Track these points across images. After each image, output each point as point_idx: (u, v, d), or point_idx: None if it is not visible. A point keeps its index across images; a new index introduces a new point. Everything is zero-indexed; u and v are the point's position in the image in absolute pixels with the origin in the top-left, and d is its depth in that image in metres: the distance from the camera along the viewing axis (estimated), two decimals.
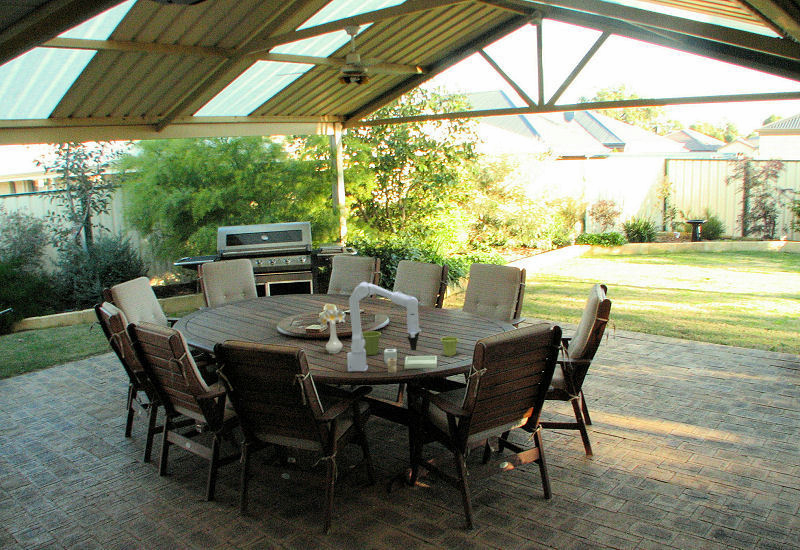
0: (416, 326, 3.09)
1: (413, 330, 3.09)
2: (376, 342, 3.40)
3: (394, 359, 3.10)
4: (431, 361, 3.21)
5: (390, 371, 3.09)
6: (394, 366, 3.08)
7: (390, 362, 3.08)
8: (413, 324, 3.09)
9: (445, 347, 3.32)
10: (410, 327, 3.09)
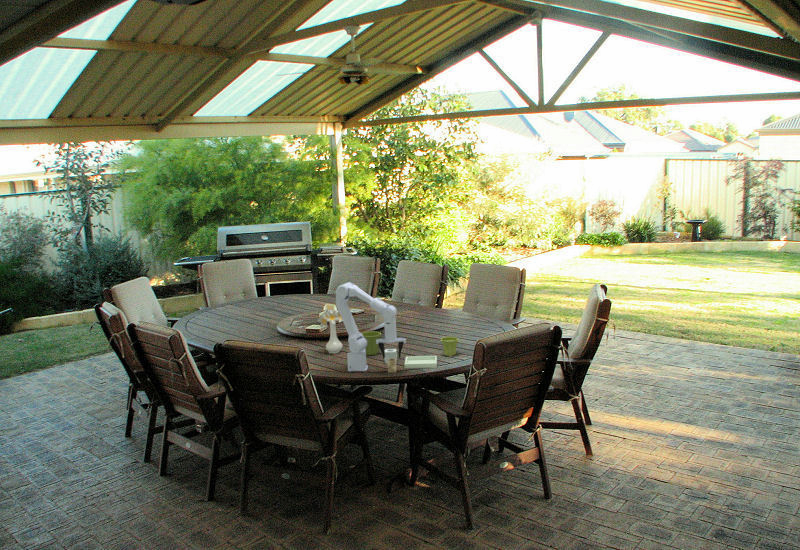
0: (386, 335, 3.06)
1: (385, 338, 3.08)
2: None
3: (394, 359, 3.10)
4: (431, 361, 3.21)
5: (390, 371, 3.09)
6: (394, 366, 3.08)
7: (390, 362, 3.08)
8: None
9: (445, 347, 3.32)
10: None
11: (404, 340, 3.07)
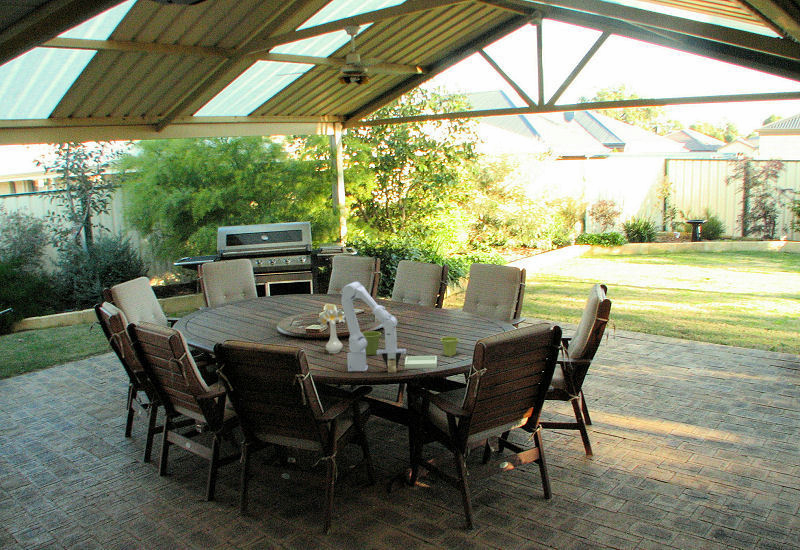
0: (386, 346, 3.07)
1: (385, 349, 3.09)
2: (376, 342, 3.40)
3: (394, 359, 3.10)
4: (431, 361, 3.21)
5: (390, 371, 3.09)
6: (394, 366, 3.08)
7: (390, 362, 3.08)
8: (385, 343, 3.08)
9: (445, 347, 3.32)
10: None
11: (404, 351, 3.08)
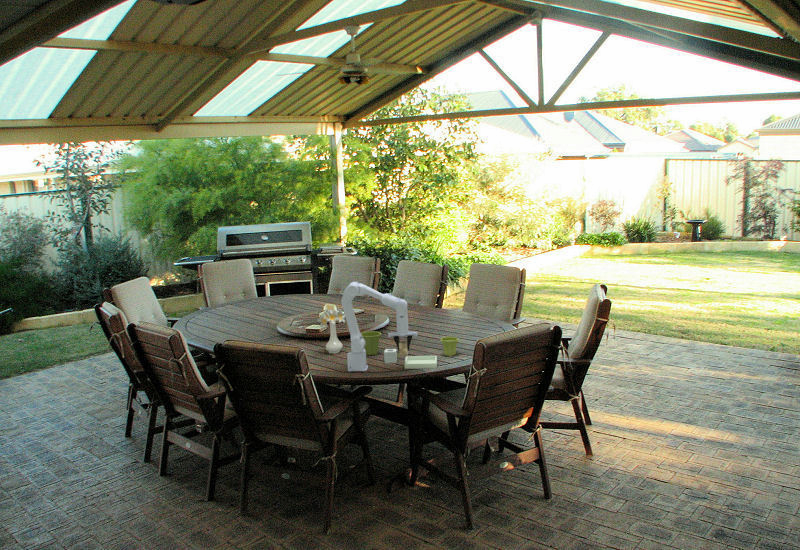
0: (397, 329, 3.10)
1: (397, 331, 3.12)
2: (376, 342, 3.40)
3: (405, 342, 3.13)
4: (431, 361, 3.21)
5: (401, 353, 3.12)
6: (405, 348, 3.11)
7: (401, 345, 3.11)
8: None
9: (445, 347, 3.32)
10: None
11: (416, 333, 3.11)
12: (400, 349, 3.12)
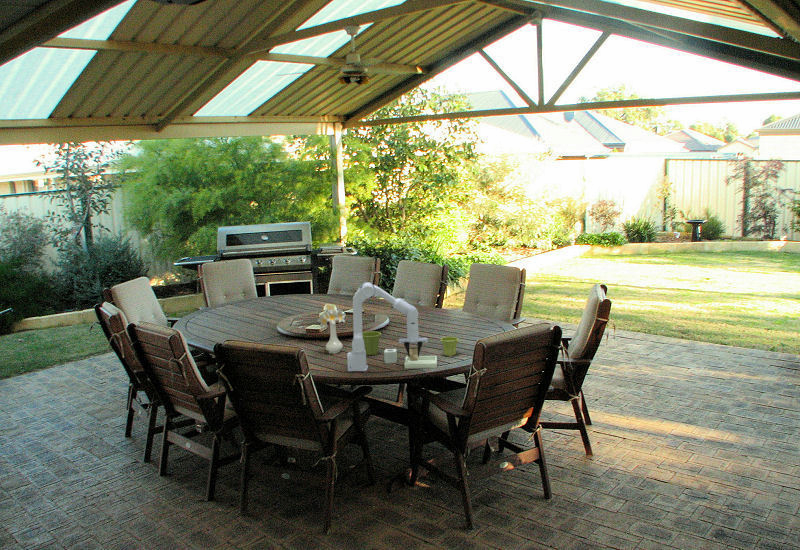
0: (408, 335, 3.15)
1: (407, 338, 3.17)
2: (376, 342, 3.40)
3: (416, 348, 3.17)
4: (431, 361, 3.21)
5: (412, 359, 3.16)
6: (416, 354, 3.16)
7: (412, 351, 3.16)
8: (407, 332, 3.16)
9: (445, 347, 3.32)
10: None
11: (426, 340, 3.15)
12: (410, 355, 3.16)
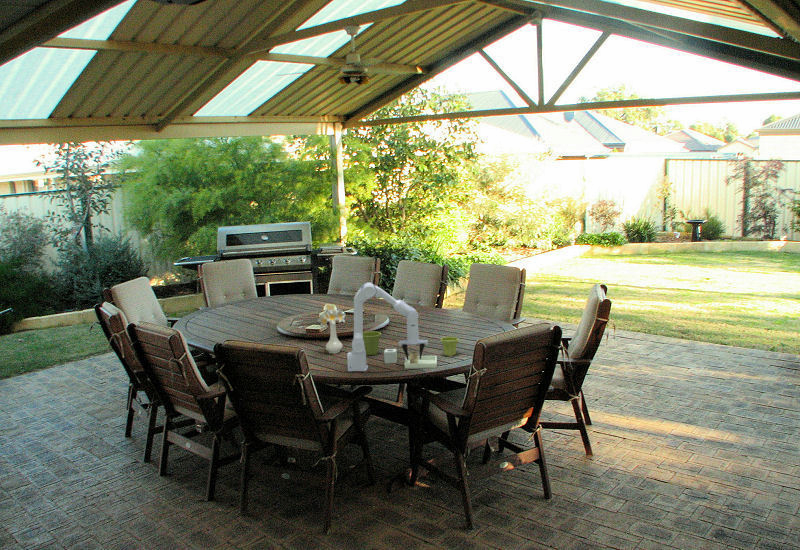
0: (408, 337, 3.15)
1: (407, 340, 3.17)
2: (376, 342, 3.40)
3: (416, 352, 3.18)
4: (431, 361, 3.21)
5: None
6: (416, 359, 3.16)
7: (412, 355, 3.16)
8: (407, 334, 3.16)
9: (445, 347, 3.32)
10: None
11: (426, 342, 3.16)
12: (411, 359, 3.16)
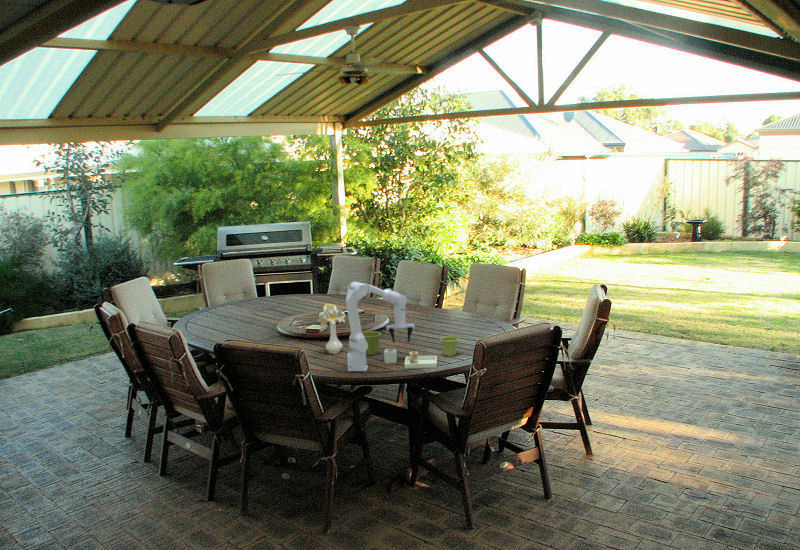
0: (396, 321, 3.25)
1: (395, 324, 3.27)
2: (376, 342, 3.40)
3: (416, 352, 3.18)
4: (431, 361, 3.21)
5: None
6: (416, 359, 3.16)
7: (412, 355, 3.16)
8: None
9: (445, 347, 3.32)
10: None
11: (413, 325, 3.27)
12: (411, 359, 3.16)
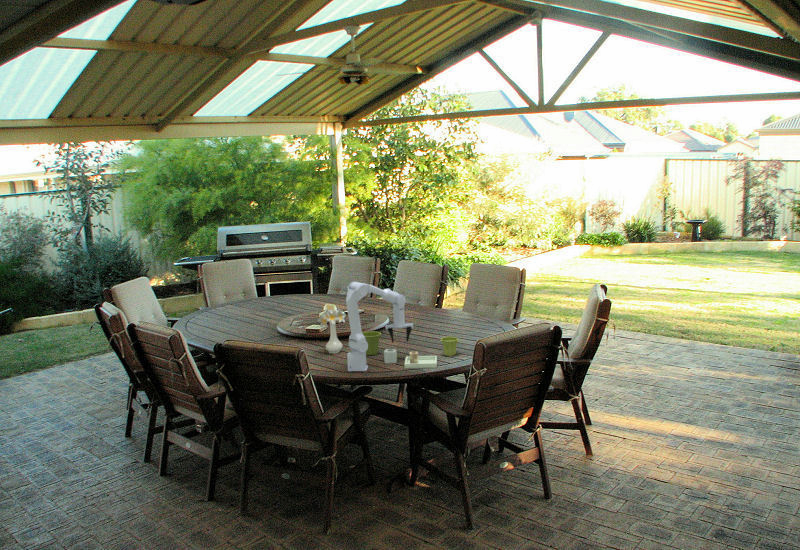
0: (395, 321, 3.26)
1: (394, 324, 3.28)
2: (376, 342, 3.40)
3: (416, 352, 3.18)
4: (431, 361, 3.21)
5: None
6: (416, 359, 3.16)
7: (412, 355, 3.16)
8: None
9: (445, 347, 3.32)
10: None
11: (412, 325, 3.28)
12: (411, 359, 3.16)
